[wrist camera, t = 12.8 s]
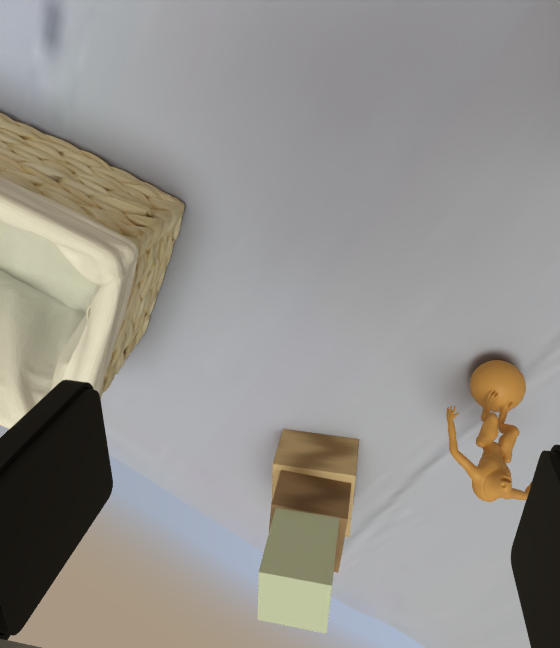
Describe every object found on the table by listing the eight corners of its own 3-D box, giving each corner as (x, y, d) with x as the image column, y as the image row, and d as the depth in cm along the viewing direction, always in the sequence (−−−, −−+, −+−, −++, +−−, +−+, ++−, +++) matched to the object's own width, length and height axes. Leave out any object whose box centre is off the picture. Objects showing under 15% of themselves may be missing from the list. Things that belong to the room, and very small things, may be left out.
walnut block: (351, 483, 44) (347, 519, 40) (342, 534, 46) (338, 572, 43) (280, 469, 45) (271, 504, 41) (276, 520, 47) (266, 557, 44)
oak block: (359, 438, 48) (355, 475, 43) (353, 496, 51) (349, 536, 46) (283, 428, 49) (272, 463, 44) (282, 485, 52) (271, 524, 47)
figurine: (552, 382, 42) (607, 489, 31) (500, 431, 44) (534, 543, 34) (466, 327, 41) (492, 417, 30) (419, 380, 44) (428, 479, 33)
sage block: (339, 518, 40) (331, 585, 35) (334, 563, 42) (326, 633, 37) (275, 507, 41) (258, 572, 36) (274, 552, 43) (257, 619, 38)
